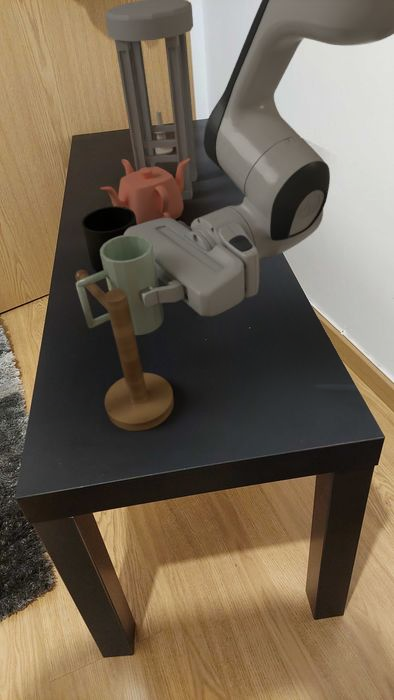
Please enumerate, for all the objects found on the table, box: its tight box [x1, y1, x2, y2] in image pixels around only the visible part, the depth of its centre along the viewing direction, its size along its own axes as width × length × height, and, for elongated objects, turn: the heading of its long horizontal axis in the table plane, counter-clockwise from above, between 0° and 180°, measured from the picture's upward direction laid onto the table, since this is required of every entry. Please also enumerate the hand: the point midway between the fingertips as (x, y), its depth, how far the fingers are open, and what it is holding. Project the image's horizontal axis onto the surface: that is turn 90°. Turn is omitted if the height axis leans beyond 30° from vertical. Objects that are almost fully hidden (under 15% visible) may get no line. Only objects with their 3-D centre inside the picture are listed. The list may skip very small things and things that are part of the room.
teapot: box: [99, 158, 190, 225], centre depth 102 cm, size 14×14×11 cm
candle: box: [153, 111, 174, 155], centre depth 130 cm, size 5×5×10 cm
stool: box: [104, 0, 198, 201], centre depth 104 cm, size 16×16×35 cm
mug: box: [81, 205, 137, 273], centre depth 91 cm, size 9×12×9 cm
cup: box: [75, 234, 165, 336], centre depth 63 cm, size 10×6×11 cm, turn 124°
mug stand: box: [74, 269, 175, 432], centre depth 64 cm, size 16×9×18 cm, turn 34°
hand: (127, 285), depth 63 cm, fingers closed on cup, 6 cm apart
